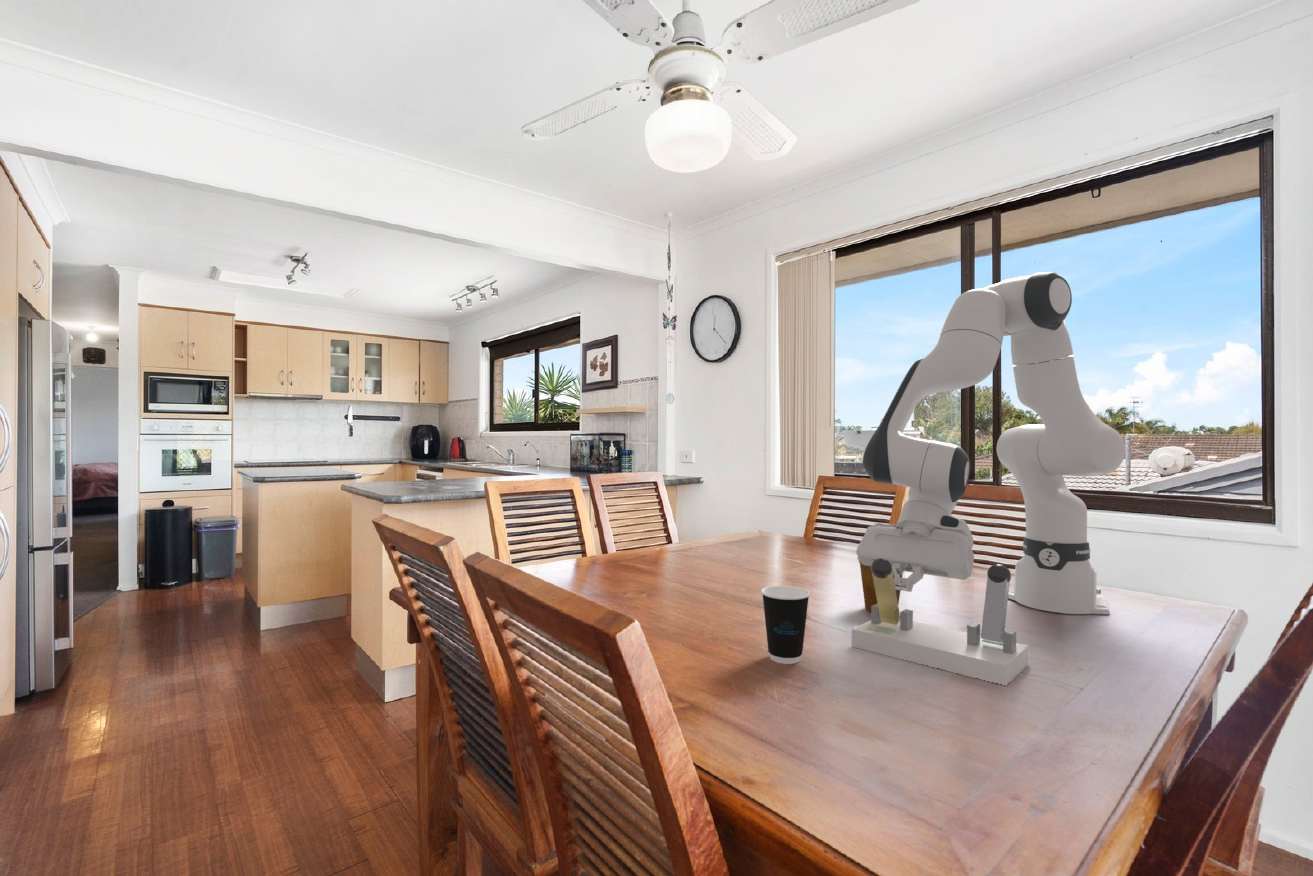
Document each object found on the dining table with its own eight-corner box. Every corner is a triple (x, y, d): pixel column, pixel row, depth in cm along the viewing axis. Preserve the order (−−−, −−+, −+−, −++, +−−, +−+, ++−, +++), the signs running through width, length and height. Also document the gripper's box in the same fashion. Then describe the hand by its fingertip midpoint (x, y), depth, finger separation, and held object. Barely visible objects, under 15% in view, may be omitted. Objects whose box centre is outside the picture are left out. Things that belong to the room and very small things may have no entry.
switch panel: (881, 631, 115) (882, 598, 115) (1028, 664, 99) (1028, 626, 99) (851, 646, 107) (851, 611, 107) (1006, 686, 90) (1006, 644, 90)
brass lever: (885, 613, 111) (874, 553, 108) (904, 617, 109) (893, 556, 105) (877, 624, 109) (866, 563, 105) (896, 628, 106) (885, 566, 103)
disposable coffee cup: (913, 617, 124) (913, 557, 124) (865, 617, 124) (865, 557, 124) (895, 604, 133) (895, 548, 133) (851, 604, 134) (851, 548, 134)
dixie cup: (779, 670, 96) (780, 599, 96) (751, 654, 103) (751, 588, 103) (820, 663, 99) (820, 594, 99) (790, 647, 106) (790, 583, 106)
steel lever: (983, 639, 100) (991, 565, 103) (1006, 644, 98) (1014, 568, 101) (977, 637, 98) (985, 560, 101) (1000, 642, 96) (1009, 563, 99)
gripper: (864, 512, 123) (841, 570, 116) (975, 522, 109) (956, 588, 102) (874, 532, 127) (852, 589, 120) (983, 544, 112) (965, 609, 106)
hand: (901, 588), depth 111 cm, fingers closed
